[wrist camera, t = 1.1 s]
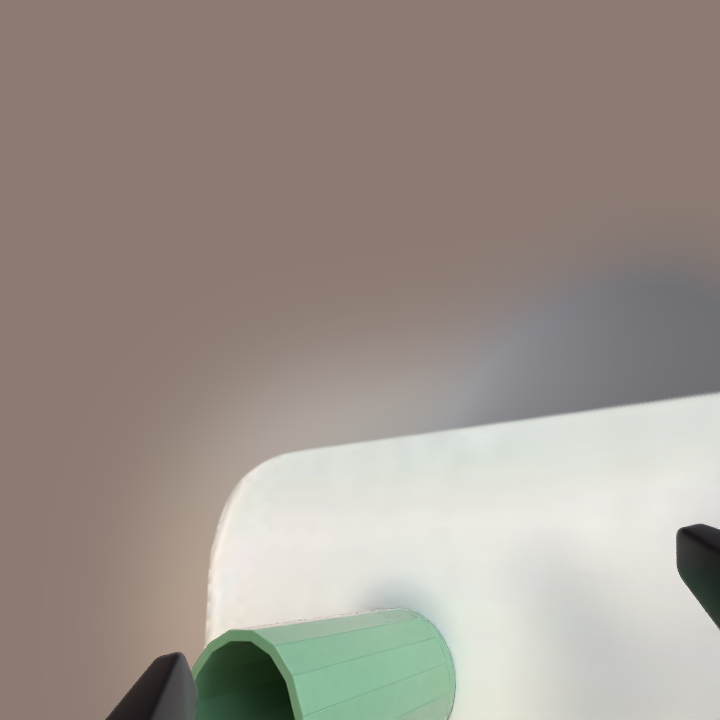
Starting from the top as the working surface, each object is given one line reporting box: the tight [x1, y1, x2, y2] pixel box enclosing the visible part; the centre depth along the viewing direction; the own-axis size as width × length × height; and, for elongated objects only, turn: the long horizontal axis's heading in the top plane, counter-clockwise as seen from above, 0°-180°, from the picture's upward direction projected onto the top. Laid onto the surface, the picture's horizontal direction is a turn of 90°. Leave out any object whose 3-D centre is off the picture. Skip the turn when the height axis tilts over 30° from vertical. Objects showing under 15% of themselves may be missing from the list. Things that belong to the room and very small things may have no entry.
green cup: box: [191, 608, 455, 720], centre depth 22 cm, size 6×6×12 cm
